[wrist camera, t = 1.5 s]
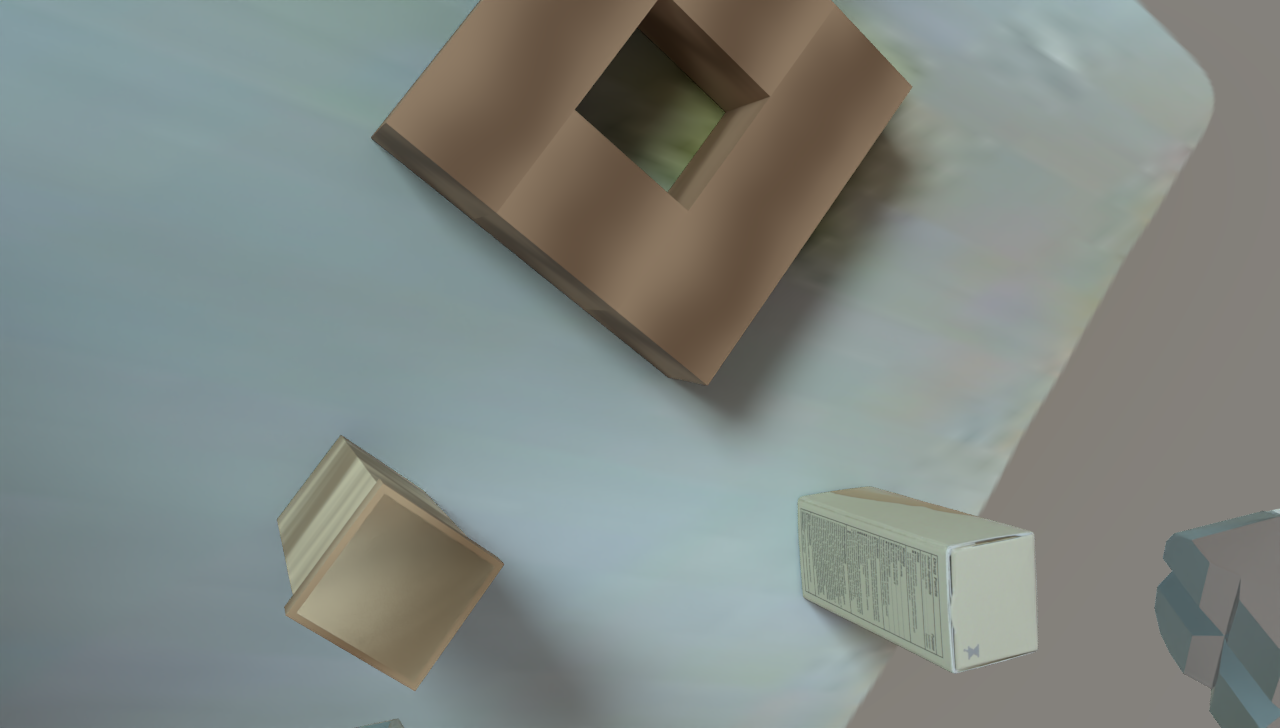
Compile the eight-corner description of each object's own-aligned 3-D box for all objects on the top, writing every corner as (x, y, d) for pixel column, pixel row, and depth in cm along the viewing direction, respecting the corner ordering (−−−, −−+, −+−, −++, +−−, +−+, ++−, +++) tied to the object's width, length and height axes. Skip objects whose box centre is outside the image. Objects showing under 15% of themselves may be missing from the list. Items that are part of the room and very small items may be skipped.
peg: (269, 520, 39) (285, 615, 28) (339, 427, 40) (383, 483, 29) (363, 579, 40) (414, 691, 29) (429, 488, 41) (504, 564, 30)
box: (874, 583, 50) (1041, 661, 40) (799, 599, 48) (952, 683, 38) (871, 479, 49) (1039, 530, 39) (794, 491, 48) (949, 547, 37)
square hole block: (370, 137, 39) (385, 122, 36) (606, -159, 42) (642, -201, 38) (667, 377, 45) (707, 385, 41) (859, 102, 47) (912, 87, 44)
